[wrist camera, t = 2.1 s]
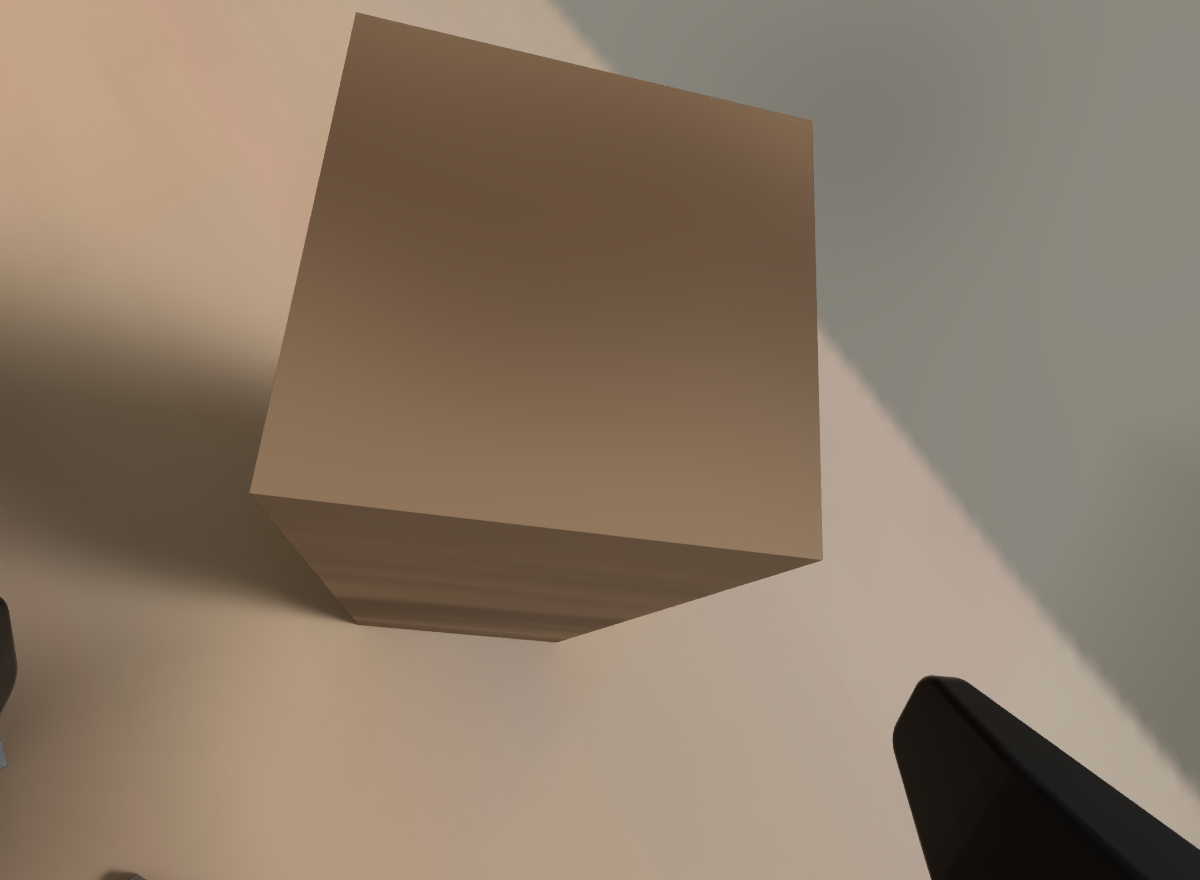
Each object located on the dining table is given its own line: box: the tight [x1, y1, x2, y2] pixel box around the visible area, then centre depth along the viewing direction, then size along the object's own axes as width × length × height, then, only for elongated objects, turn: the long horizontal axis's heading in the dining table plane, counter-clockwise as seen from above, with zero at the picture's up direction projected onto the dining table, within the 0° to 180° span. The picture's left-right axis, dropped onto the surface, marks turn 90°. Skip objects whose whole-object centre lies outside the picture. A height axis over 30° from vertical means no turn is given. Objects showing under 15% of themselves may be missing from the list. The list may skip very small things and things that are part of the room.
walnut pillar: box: [249, 12, 823, 642], centre depth 12 cm, size 4×4×12 cm
